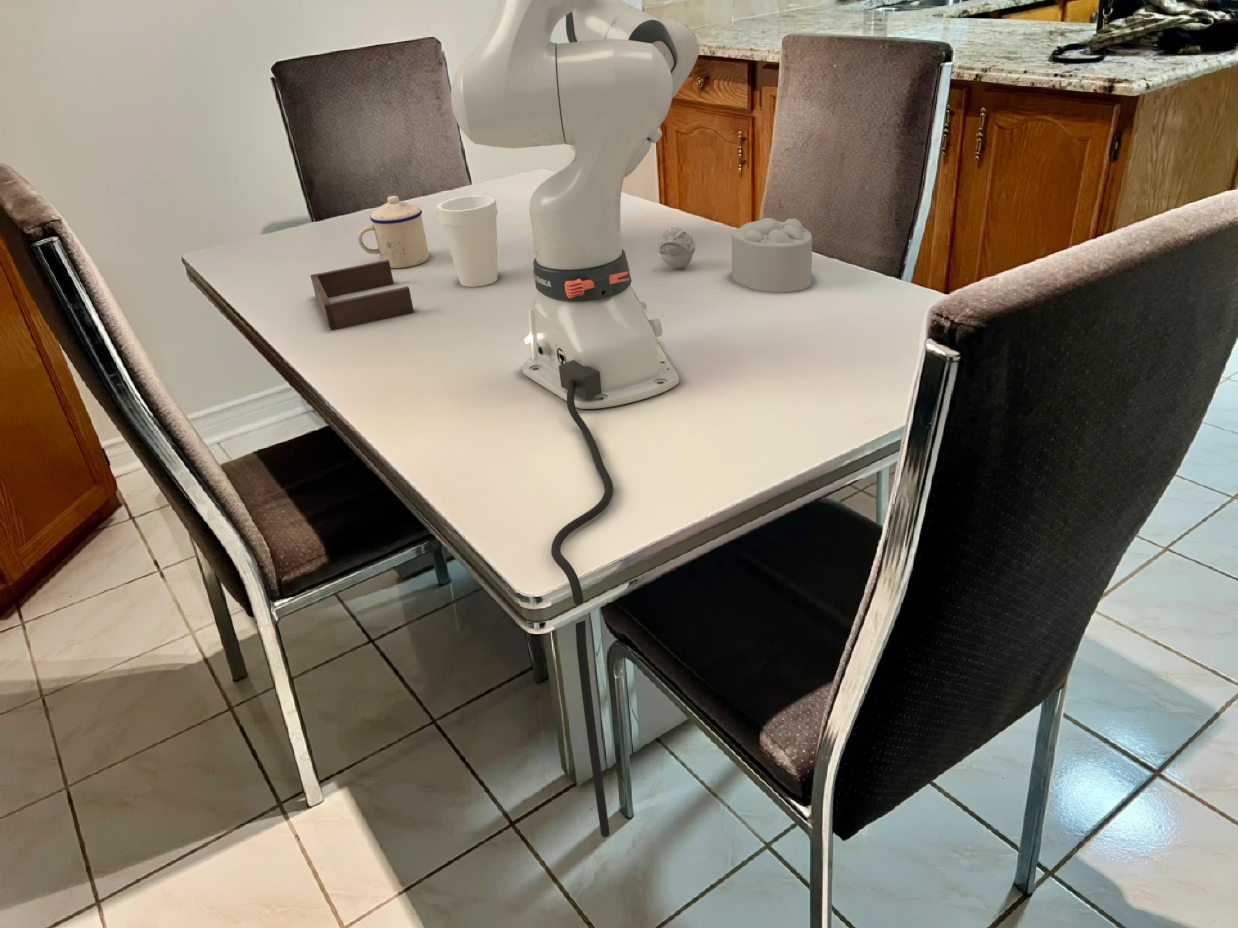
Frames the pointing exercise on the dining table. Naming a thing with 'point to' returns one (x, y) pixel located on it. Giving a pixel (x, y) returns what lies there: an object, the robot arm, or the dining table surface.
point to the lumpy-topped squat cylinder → (772, 255)
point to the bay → (362, 306)
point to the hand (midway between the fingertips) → (579, 185)
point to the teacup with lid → (398, 234)
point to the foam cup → (471, 237)
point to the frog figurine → (676, 247)
